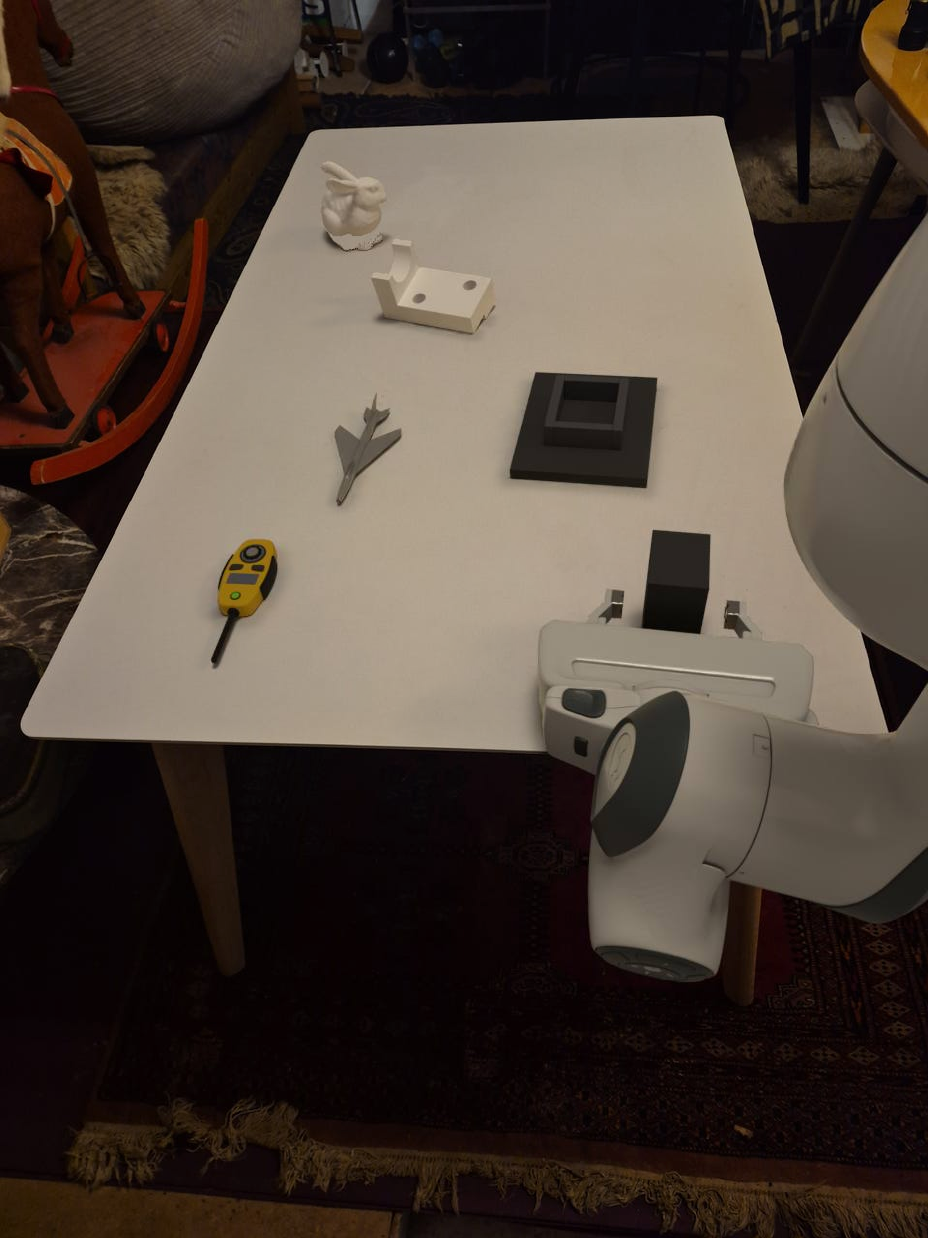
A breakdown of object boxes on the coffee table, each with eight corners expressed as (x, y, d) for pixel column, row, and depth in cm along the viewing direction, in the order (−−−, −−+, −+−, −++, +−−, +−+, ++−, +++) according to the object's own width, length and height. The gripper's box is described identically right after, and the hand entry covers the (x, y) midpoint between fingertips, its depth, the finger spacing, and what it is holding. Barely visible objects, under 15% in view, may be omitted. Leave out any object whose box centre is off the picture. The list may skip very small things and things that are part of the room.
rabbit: (399, 241, 128) (388, 155, 119) (351, 266, 124) (336, 179, 115) (348, 220, 134) (333, 137, 125) (300, 243, 130) (282, 159, 121)
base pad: (656, 386, 98) (659, 357, 95) (646, 487, 87) (649, 458, 84) (535, 380, 101) (535, 352, 98) (510, 478, 89) (508, 449, 87)
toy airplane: (303, 504, 89) (298, 487, 87) (356, 388, 102) (353, 371, 101) (374, 509, 88) (370, 492, 86) (419, 391, 101) (416, 374, 99)
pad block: (695, 617, 75) (710, 533, 67) (692, 671, 71) (709, 588, 64) (642, 612, 76) (652, 529, 68) (637, 665, 72) (647, 583, 64)
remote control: (282, 536, 83) (235, 655, 73) (287, 550, 85) (241, 669, 75) (235, 534, 84) (182, 653, 74) (240, 549, 85) (189, 666, 76)
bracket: (386, 322, 114) (370, 277, 107) (409, 285, 117) (394, 238, 110) (475, 339, 110) (464, 292, 103) (496, 299, 112) (486, 251, 106)
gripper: (832, 737, 56) (819, 584, 65) (523, 700, 60) (549, 561, 69) (811, 786, 61) (801, 638, 69) (525, 750, 65) (550, 614, 73)
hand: (674, 600), depth 69 cm, fingers open, 8 cm apart
